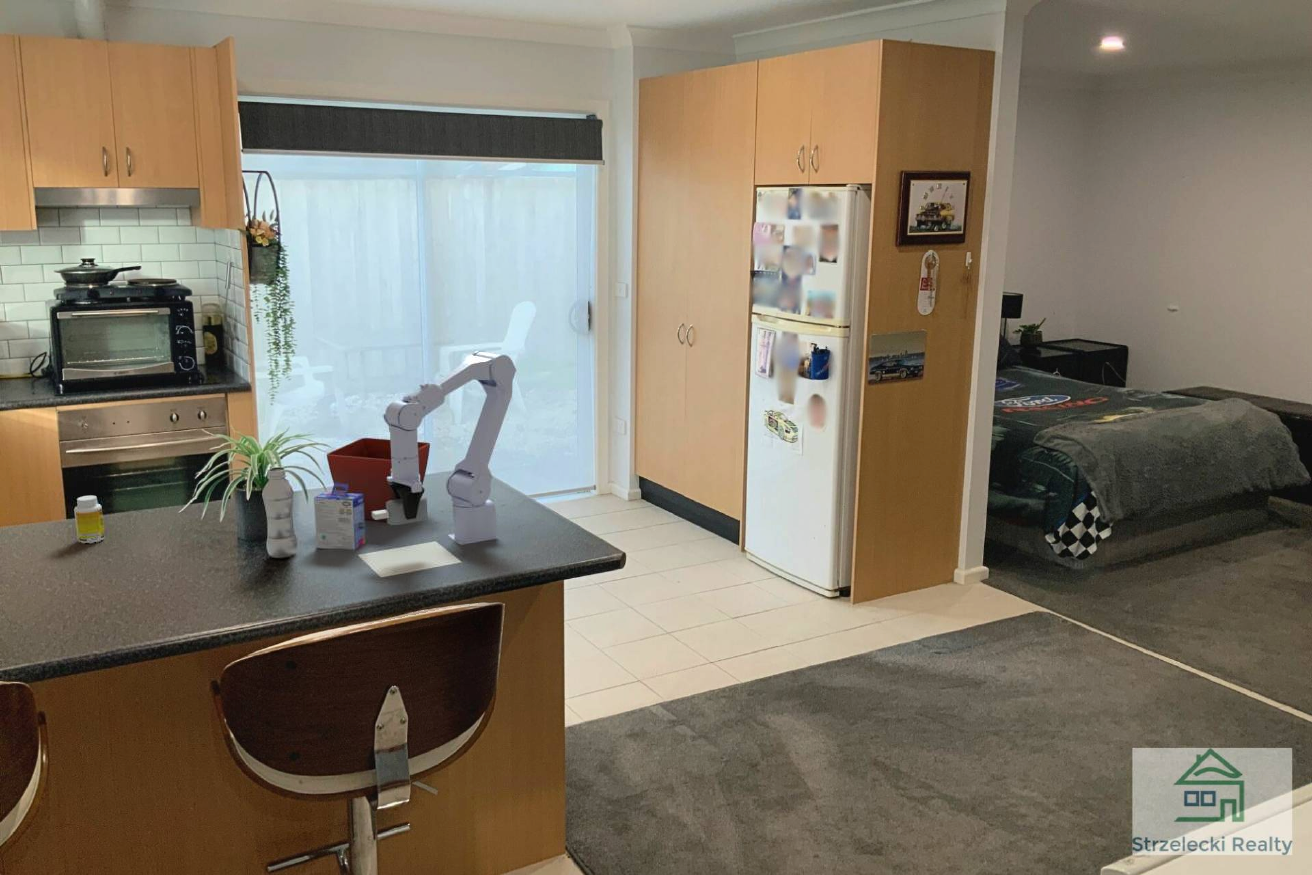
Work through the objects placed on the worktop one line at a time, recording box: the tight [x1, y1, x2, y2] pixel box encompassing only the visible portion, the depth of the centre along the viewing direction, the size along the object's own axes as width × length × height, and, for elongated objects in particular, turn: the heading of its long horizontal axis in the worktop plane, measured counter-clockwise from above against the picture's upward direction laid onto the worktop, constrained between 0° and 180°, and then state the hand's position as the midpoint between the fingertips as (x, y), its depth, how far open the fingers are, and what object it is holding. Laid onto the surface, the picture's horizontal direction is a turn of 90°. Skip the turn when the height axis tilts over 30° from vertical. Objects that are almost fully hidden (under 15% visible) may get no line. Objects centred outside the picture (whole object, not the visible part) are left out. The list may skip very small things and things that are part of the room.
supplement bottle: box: [73, 495, 106, 544], centre depth 242 cm, size 6×6×10 cm
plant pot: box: [326, 437, 431, 522], centre depth 263 cm, size 19×19×17 cm
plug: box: [372, 496, 429, 526], centre depth 231 cm, size 12×4×4 cm, turn 122°
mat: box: [357, 540, 463, 578], centre depth 232 cm, size 18×16×1 cm
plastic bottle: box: [261, 466, 299, 559], centre depth 231 cm, size 6×7×20 cm
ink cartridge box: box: [313, 483, 367, 550], centre depth 239 cm, size 10×6×14 cm, turn 78°
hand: (407, 515), depth 233 cm, fingers closed on plug, 4 cm apart
